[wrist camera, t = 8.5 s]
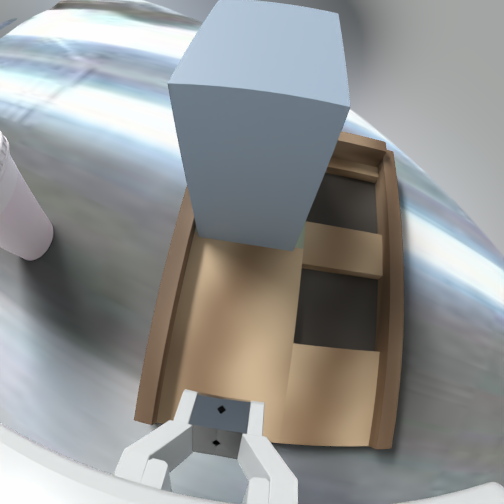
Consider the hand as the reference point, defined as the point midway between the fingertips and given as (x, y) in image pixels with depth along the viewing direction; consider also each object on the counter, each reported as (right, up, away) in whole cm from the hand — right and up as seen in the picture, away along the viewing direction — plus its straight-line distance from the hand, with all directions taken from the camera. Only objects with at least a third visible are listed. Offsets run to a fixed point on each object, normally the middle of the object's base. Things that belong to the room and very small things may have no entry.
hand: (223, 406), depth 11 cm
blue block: (+1, +10, +11) cm, 15 cm away
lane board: (+3, +4, +10) cm, 11 cm away
